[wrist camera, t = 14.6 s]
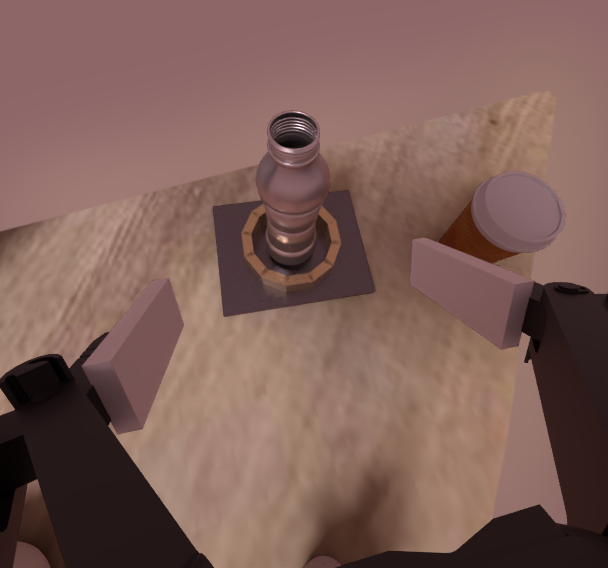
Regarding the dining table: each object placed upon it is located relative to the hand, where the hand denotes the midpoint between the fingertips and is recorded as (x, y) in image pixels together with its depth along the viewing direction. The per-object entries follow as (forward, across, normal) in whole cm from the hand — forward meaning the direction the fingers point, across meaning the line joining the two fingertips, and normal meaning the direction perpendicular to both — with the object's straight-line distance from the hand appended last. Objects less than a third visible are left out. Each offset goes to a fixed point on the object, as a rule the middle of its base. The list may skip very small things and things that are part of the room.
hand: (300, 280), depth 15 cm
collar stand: (+24, +2, -5) cm, 25 cm away
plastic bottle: (+24, +2, -5) cm, 24 cm away
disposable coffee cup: (+21, +26, -9) cm, 35 cm away
